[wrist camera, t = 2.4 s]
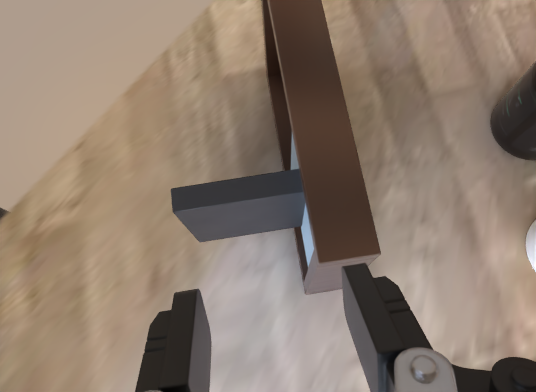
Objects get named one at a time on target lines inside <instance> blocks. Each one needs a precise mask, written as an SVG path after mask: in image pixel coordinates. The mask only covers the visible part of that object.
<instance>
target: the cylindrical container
mask: <svg viewBox="0 0 536 392" xmlns="http://www.w3.org/2000/svg"><path fill="white" fill-rule="evenodd" d="M526 252H527V255H528V259H529V261H530V263H531V265H532V267H533V268H534V270H535V271H536V220H535V221H534V222H533V223H532V225H531V226H530V228H529V230H528V233H527V236H526Z"/></svg>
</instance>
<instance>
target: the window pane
mask: <svg viewBox="0 0 536 392" xmlns="http://www.w3.org/2000/svg"><path fill="white" fill-rule="evenodd" d="M171 197H172V208H173V213H174V214H175V215H176V216H177V217H178V218H179V220H180V221H181V222H182V223H183V224H184V225H185V226H186V227H187V229H188V230H189V231H190V232H191V233H192V234H193V235H194V237H195V238H196V239H197V240H198V241H199V242H205V241H211V240H218V239H224V238H230V237H237V236H243V235H249V234H256V233H262V232H268V231H275V230H281V229H287V228H294V227H300V226H301V231H302V236H303V242H304V247H305V253H306V258H307V264H308V268H309V265H310V262H311V259H312V256H313V252H314V246H313V240H312V235H311V230H310V224H309V219H308V214H307V208H306V203H305V198H304V193H303V187H302V182H301V177H300V171H299V166H298V161H297V155H296V150H295V145H294V139H293V134H292V143H291V170H287V171H281V172H274V173H268V174H262V175H255V176H249V177H242V178H236V179H230V180H223V181H217V182H210V183H204V184H198V185H191V186H185V187H178V188H172V189H171Z"/></svg>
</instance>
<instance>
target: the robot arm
mask: <svg viewBox="0 0 536 392" xmlns="http://www.w3.org/2000/svg"><path fill="white" fill-rule="evenodd" d="M341 274H342V288H343V302H344V310H345V316H346V320H347V324H348V327H349V330H350V333H351V336H352V338H353V341H354V344H355V347H356V350H357V353H358V356H359V359H360V362H361V365H362V368H363V370H364V373H365V376H366V379H367V382H368V385H369V388H370V391H371V392H536V362H534V361H532V360H529V359H525V358H520V357H508V358H504V359H501V360H499V361H498V362H496V363H495V364H494V366H493V368H492V371H485V370H476V369H468V368H462V367H459V366H456V365H453V364H451V363H450V362H449V361H448V359H447V358H445V357H444V356H443V355H442V354H440V353H438V352H436V351H434V350H433V348H432V347H431V345H430V343H429V341H428V340H427V338H426V336H425V334H424V332H423V331H422V329H421V327H420V325H419V323H418V321H417V320H416V318H415V316H414V314H413V312H412V310H410V307H409V305H408V303H407V301H406V300H405V298H404V296H403V294H402V292H401V290H400V289H399V287H398V285H396V284H395V283H394V282H392V281H391V280H390V279H388V278H387V277H386V276H383V277H377V278H373V277H372V275H371V273H370V270H369V268H368V266H367V264H366V263H360V264H353V265H347V266H342V267H341ZM210 366H211V333H210V327H209V323H208V319H207V315H206V311H205V307H204V304H203V300H202V296H201V292H200V290H199V289H194V290H188V291H182V292H176V293H175V294H174V298H173V304H172V309H171V310H168V311H162V312H159V313H158V315H157V316H156V318H155V319H154V320H153V322H152V323H151V325H150V328H149V332H148V337H147V342H146V346H145V353H144V355H143V359H142V363H141V368H140V372H139V377H138V381H137V386H136V390H135V392H209V387H210Z"/></svg>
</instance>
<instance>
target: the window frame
mask: <svg viewBox="0 0 536 392" xmlns="http://www.w3.org/2000/svg"><path fill="white" fill-rule="evenodd" d="M261 6H262V20H263V34H264V48H265V62H266V75H267V80H268V86H269V92H270V97H271V103H272V109H273V115H274V120H275V126H276V132H277V137H278V143H279V149H280V154H281V160H282V166H283V171H287V170H291V143H292V134H293V139H294V145H295V150H296V155H297V161H298V166H299V171H300V177H301V182H302V187H303V193H304V198H305V203H306V208H307V214H308V219H309V224H310V230H311V235H312V240H313V246H314V252H313V256H312V259H311V262H310V265H309V268H308V264H307V258H306V253H305V247H304V242H303V236H302V231H301V226H300V227H294V234H295V240H296V245H297V251H298V257H299V262H300V268H301V274H302V279H303V285H304V291H305V294H306V295H307V294H313V293H319V292H326V291H332V290H338V289H342V274H341V267H342V266H347V265H353V264H360V263H366V264H367V266H368V265H369V264H370V263H371V262H372V261H374V260H375V259H376V258H377V257H378V256H379V255H380V254H381V251H380V247H379V243H378V239H377V234H376V230H375V226H374V222H373V217H372V213H371V209H370V205H369V200H368V196H367V192H366V188H365V183H364V179H363V175H362V171H361V167H360V162H359V158H358V154H357V150H356V145H355V141H354V137H353V133H352V128H351V124H350V120H349V116H348V111H347V107H346V103H345V99H344V94H343V90H342V86H341V82H340V78H339V73H338V69H337V65H336V61H335V56H334V52H333V48H332V44H331V39H330V35H329V31H328V27H327V22H326V18H325V14H324V10H323V6H322V1H321V0H261Z"/></svg>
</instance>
